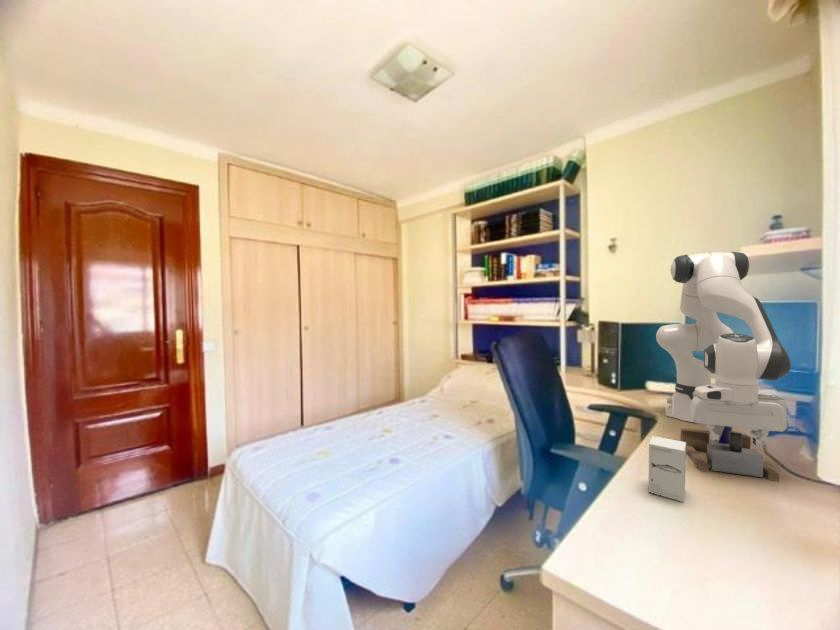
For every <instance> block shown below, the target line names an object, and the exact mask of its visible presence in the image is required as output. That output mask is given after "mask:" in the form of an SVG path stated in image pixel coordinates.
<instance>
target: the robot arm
mask: <svg viewBox="0 0 840 630" xmlns="http://www.w3.org/2000/svg"><path fill="white" fill-rule="evenodd" d="M750 266H751V265H750V260H749V257H748V256H747V255H746V254H745V252H744V253H743V252H738V251H730V252H727V251H726V252H725V251H724V252H723V251H722V252H721V251H711V252H704V253H693V254H683V255H682V254H681V255H678V256H676V257H675V258H674V259H673V261H672V263H671V265H670V268H669V269H670V270H669V271H670V275H671V277H672V280H673V281H674V282H675V283H679V284H682V288H681V289H682V290H681V296H680V297H681V298H680V305H679V306H680V307H679V308H680V311H681V313H682V314H683V315H684V316H686V317H688V318H690V319H692V320H695V321H696V322H695V323H674V324H673V323H672V324H666V325H661V326H660V327H659V328H658V330H657V331H656V335H655V340H656V342H657V344H658V345H659V347H661V348H662V349H664V350H665V351H666V352H667V353H668V354H669V355H670V356H671V357H672V359H673V361H674V364H675V369H676V382H675V386H674V393H672V394H671V397H667V398H666V404H669V405H665V406H664V411H665V416H666V417H669V418H674V419H678V420H681V421H684V422H689V423H694V424H697V425H704V426H705V428H706V429H707V431H709V432H710V439H711V440H713V441H719V439H718V438H719V435H718V434H717V433H714V432H713V430H712V429H714V425H718V426H729V427H732V428H739V429H740V428H741V429H748V430H749V429H750V430H751V429H752V430H757V431H758V432H759V433H758V434H757V436H756V437H755V436H752V444H753V445H754V446H758V447H760V446H761V447H762V446H763V445H764V440H765V439H766V438H767V437H768V435H769V432H781V433H782V432H785V430H786V429H787V428H788V424H787V423H788V422H787V416H786V412H785V411H786V409H787V402H786V400H785V399H784V398H782V397H779V395H767V394H761V393H759V380H758V379H760V380H767V381H774V382H775V381H777V380H779V379H781V378H783V377H785V376H786V375H787V374H789V372H790V371H791V367H792V366H791V360H790V356H789V354H788V352H787V351H786V349H785V347H784V346H783V344H782V342H781V341H780V339H779V338H778V336H777V333H776V331H775V329H774V327H773V324H772V323H771V320H770V318H769V316H768V313H767V312H766V310H765V308H764V306H763V304H762V302H761V301H760V299H759V298H757V297H755V296H753V295H750V293H748V292H747V291H746V290H745V288H744V287H743V286H742V283H741V281H742V280H743V279H745V278H747V276H748V273H749V270H750ZM717 313H720V314H724V315H728V316H731V317H735V318H737V319H740V320H742V321H744V322H745V323H746V324H747V325H748V326H749V329H750V331H751V333H752V336H751V335H748V334H743V333H734V331H733V330H732V329H731V328H730V327H729V326H728V325H726V324H725V323H723V322H722V321H721V320H720V318H719V316H718V314H717ZM693 352H703V355H704V357H703V360H701V359H699V358H696V357H694V355H693ZM712 374H714V375H716V376H715V382H714V383H711V382H712V378H711V377H712ZM711 428H712V429H711Z"/></svg>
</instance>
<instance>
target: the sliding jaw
mask: <svg viewBox="0 0 840 630" xmlns="http://www.w3.org/2000/svg"><path fill="white" fill-rule="evenodd" d="M742 434H743V433H742V432H738V431H734V430H732V431H730V432H729V447H728V446H719V445H711V444H707V453H706V462H707V464H708V468H709V469H710V470H711V471H715V472H721V473H729V474H734V475H736V474H737V475H744V476H752V477H758V478H764V475H763V462H764V454H762V453H761V452H760V451H758V450H756V449H753V448H750V449H746V448H742Z"/></svg>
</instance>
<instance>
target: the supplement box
mask: <svg viewBox="0 0 840 630" xmlns="http://www.w3.org/2000/svg"><path fill="white" fill-rule="evenodd" d="M648 446H649V447H648V491H647V492H648V493H649V492H651V493H650V494H653V493H654V495H658V496H660V495H661V497H663V498H664V497H665V498H669V499H671V500H674V501H679V502H681V503H685V496H686V495H685V492H686V473H687V472H686V471H687V470H686V467H687V466H686V465H687V463H686V461H687V460H686V459H687V454H686V442H682V441H681V440H676V439H671V438H665V437H660V436H656V435H652V436H651V437H650V441H649V443H648Z"/></svg>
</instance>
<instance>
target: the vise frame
mask: <svg viewBox="0 0 840 630" xmlns="http://www.w3.org/2000/svg"><path fill="white" fill-rule="evenodd" d="M680 441H682V442H686V456H687V457H688V458H689V459H690V460H691V462H692V463H693V464H694V465H695V467H697V470H699V471H701V472H702V471H703V472H709V466H708V464H707V460H705V459H704V458H703V456H701V454H699V452H700V453H706V454H707V444H709V431H708V430H705V429H704V430H703V429H693V428H684V427H680ZM742 448H746V449H751V436H749V435H748V434H746V433H745V434H744V433H742ZM763 477H765V478H766V479H767V480H768V481H772V482H773V481H774V482H779V477H780V475H779V472H777V471H776V470H775V469H773V468H772V467H771V466H770V465H768V464H767V463H766V462H764V461H763Z"/></svg>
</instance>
